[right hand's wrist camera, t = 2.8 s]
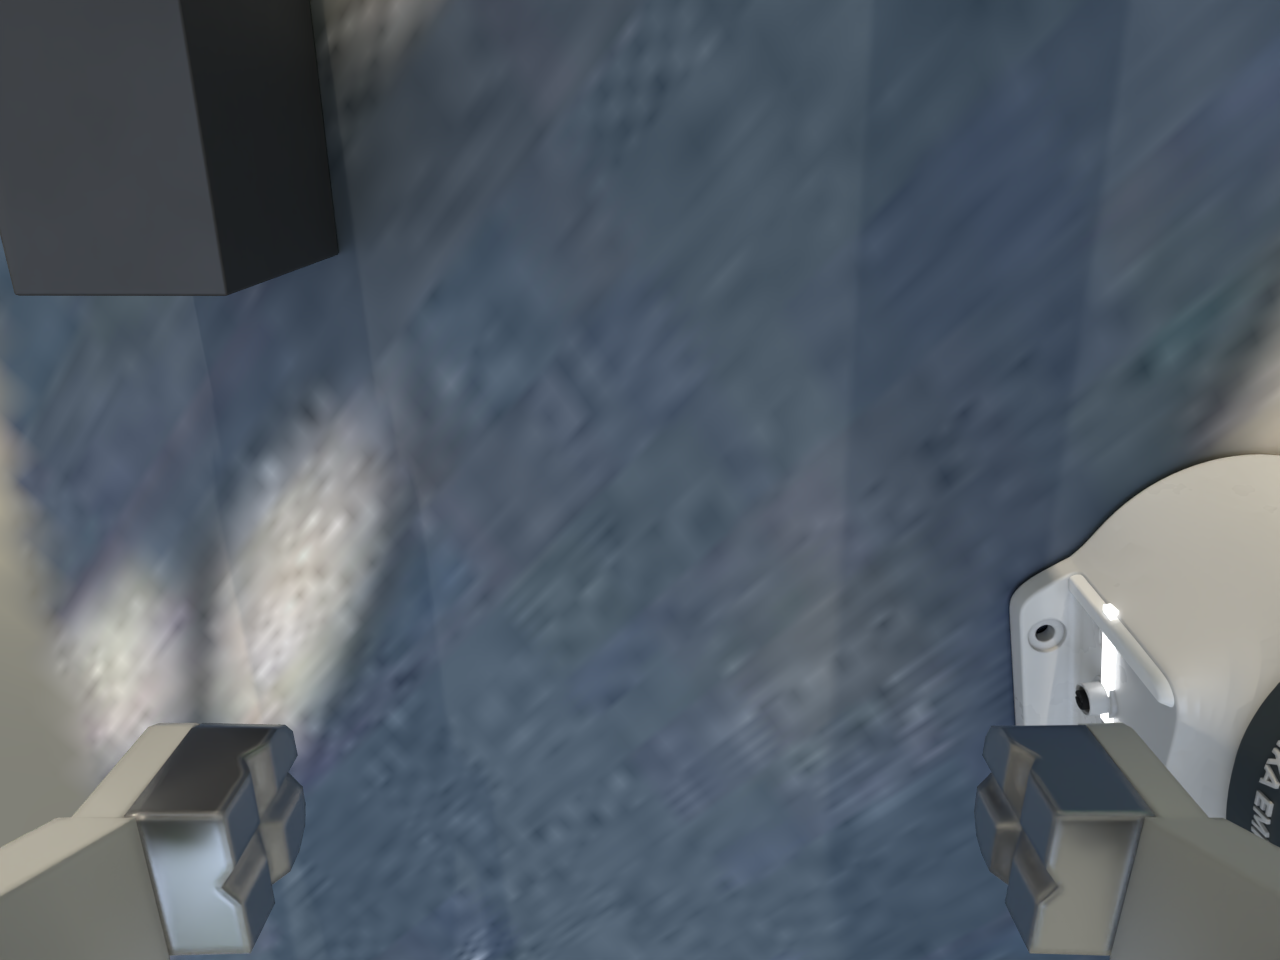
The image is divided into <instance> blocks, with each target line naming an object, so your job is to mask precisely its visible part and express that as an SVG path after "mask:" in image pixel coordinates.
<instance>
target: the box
mask: <svg viewBox="0 0 1280 960" xmlns="http://www.w3.org/2000/svg"><path fill="white" fill-rule="evenodd" d="M0 235H1V239H2V243H3V248H4V252H5V256H6V260H7V264H8V268H9V272H10V276H11V280H12V284H13V289H14V293H15V294H16V295H32V296H227V295H229V294H232V293H235V292H237V291H240V290H243V289H246V288H248V287H251V286H254V285H256V284H259V283H262V282H265V281H267V280H270V279H273V278H275V277H278V276H281V275H284V274H286V273H289V272H292V271H294V270H297V269H300V268H302V267H305V266H308V265H311V264H313V263H316V262H319V261H321V260H324V259H327V258H330V257H332V256H335V255H338V245H337V237H336V228H335V219H334V210H333V202H332V193H331V184H330V176H329V167H328V158H327V150H326V141H325V132H324V124H323V115H322V106H321V98H320V89H319V80H318V72H317V63H316V54H315V45H314V37H313V28H312V19H311V11H310V2H309V0H0Z"/></svg>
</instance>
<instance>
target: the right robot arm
mask: <svg viewBox="0 0 1280 960" xmlns="http://www.w3.org/2000/svg"><path fill="white" fill-rule="evenodd" d="M1009 614H1010V632H1011V650H1012V668H1013V686H1014V704H1015V722H1016V726H991V727H990V729H989V731H988V733H987V735H986V738H985V743H984V749H983V757H984V759H985V761H986V763H987V765H988V766H989V768H990V770H991V772H992V773H991V774H990V775H989V776H988V777H987V778H986V779H985V780H984V781H983V782H982V783H981V784H980V785H979V786H978V787H977V793H976V801H975V809H974V814H975V825H976V836H977V839H978V843H979V846H980V850H981V853H982V856H983V858H984V860H985V862H986V864H987V866H988V869H989V871H990V872H991V873H993V874H994V875H995V876H997V877H998V878H1000V879H1001V880H1002V881H1004V882H1005V883H1006V884H1008V889H1007V894H1006V900H1005V904H1006V906H1007V908H1008V910H1009V912H1010V914H1011V916H1012V918H1013V920H1014V922H1015V924H1016V926H1017V929H1018V931H1019V933H1020V935H1021V937H1022V939H1023V941H1024V943H1025V945H1026V947H1027V949H1028V951H1029V953H1041V954H1076V955H1111V956H1110V960H1280V455H1270V454H1251V455H1239V456H1231V457H1225V458H1220V459H1216V460H1211V461H1208V462H1204V463H1201V464H1197V465H1195V466H1192V467H1189V468H1186V469H1184V470H1181V471H1179V472H1177V473H1174V474H1172V475H1170V476H1168V477H1166V478H1164V479H1162V480H1160V481H1158V482H1156V483H1155V484H1153V485H1151V486H1150V487H1148V488H1146V489H1145V490H1143V491H1142V492H1140V493H1139V494H1137V495H1136V496H1134V497H1133V498H1132V499H1130V500H1129V501H1128V502H1127V503H1125V504H1124V505H1123V506H1122V507H1120V508H1119V509H1118V510H1117V511H1116V512H1115V513H1114V514H1113V515H1111V516H1110V517H1109V518H1108V519H1107V520H1106V521H1105V522H1104V523H1103V525H1102V526H1101V527H1100V528H1099V529H1098V530H1097V531H1096V532H1095V533H1094V534H1093V535H1092V536H1091V537H1090V539H1089V540H1088V541H1087V542H1086V543H1085V544H1084V545H1083V546H1082V547H1081V548H1080V549H1079V550H1077V551H1076V552H1075V553H1074V554H1073V555H1071V556H1070V557H1069V558H1067V559H1065V560H1063V561H1061V562H1059V563H1057V564H1055V565H1053V566H1051V567H1049V568H1048V569H1046V570H1044V571H1042V572H1040V573H1038V574H1037V575H1035V576H1033V577H1032V578H1030V579H1029V580H1027V581H1026V582H1024V583H1023V584H1022V585H1021V586H1020V587H1019V588H1018V589H1017V590H1016V591H1015V592H1014V594H1013V596H1012V598H1011V601H1010V606H1009ZM1043 625H1048V627H1047V629H1046V630H1045V631H1043V632H1042V633H1038V634H1036V631H1037V629H1038V628H1039V627H1041V626H1043ZM296 757H297V750H296V745H295V740H294V735H293V731H292V730H291V729H289V728H288V727H287V726H286V725H269V724H223V723H202V724H198V723H159V724H156V725H153V726H150V727H148V728H147V729H146V730H145V731H144V733H143V734H142V735H141V736H140V737H139V738H138V740H137V741H136V742H135V743H134V744H133V745H132V747H131V748H130V749H129V750H128V751H127V753H126V754H125V755H124V756H123V757H122V758H121V760H120V761H119V762H118V763H117V764H116V765H115V767H114V768H113V769H112V770H111V771H110V772H109V774H108V775H107V776H106V777H105V778H104V779H103V781H102V782H101V783H100V784H99V785H98V786H97V788H96V789H95V790H94V791H93V792H92V794H91V795H90V796H89V797H88V798H87V799H86V801H85V802H84V803H83V804H82V805H81V806H80V808H79V809H78V810H77V811H76V812H75V813H74V815H73V816H72V817H71V818H55V819H53V820H52V821H50V822H48V823H46V824H44V825H42V826H40V827H38V828H36V829H34V830H33V831H31V832H29V833H27V834H25V835H23V836H21V837H19V838H17V839H16V840H13V841H12V842H10V843H8V844H6V845H4V846H2V847H0V960H170V956H169V955H203V954H237V953H251V951H252V949H253V947H254V945H255V943H256V941H257V939H258V937H259V935H260V933H261V931H262V929H263V927H264V925H265V922H266V920H267V918H268V916H269V914H270V912H271V910H272V908H273V906H274V904H275V900H274V894H273V889H272V884H274V883H275V882H276V881H278V880H279V879H280V878H282V877H283V876H285V875H286V874H287V873H289V872H290V871H291V869H292V866H293V864H294V862H295V860H296V858H297V855H298V853H299V851H300V846H301V842H302V837H303V833H304V828H305V799H304V792H303V787H302V786H301V785H300V784H299V783H298V782H297V781H296V780H295V779H294V778H293V777H292V776H291V775H290V774H289V773H288V772H289V770H290V768H291V766H292V765H293V763H294V761H295V759H296Z"/></svg>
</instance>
